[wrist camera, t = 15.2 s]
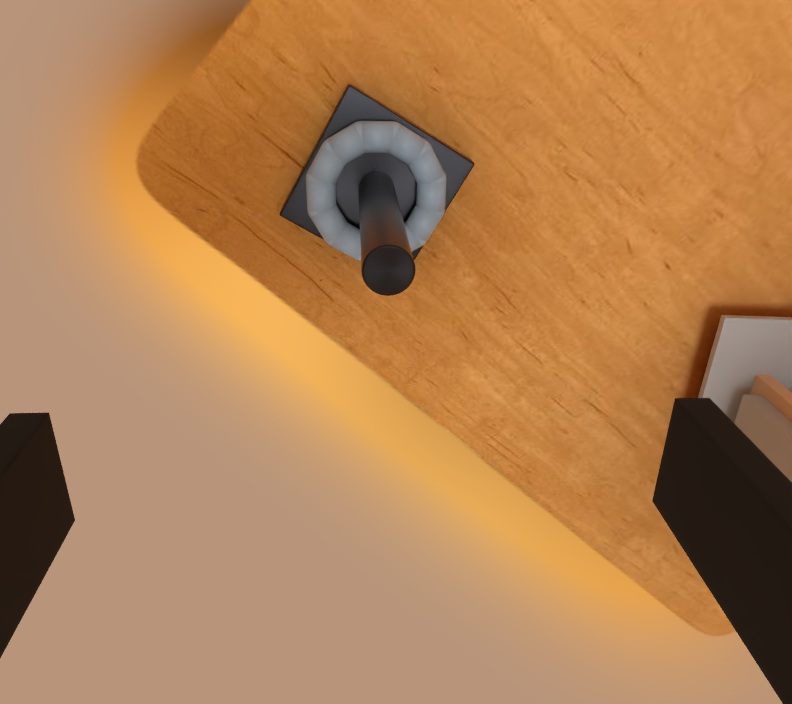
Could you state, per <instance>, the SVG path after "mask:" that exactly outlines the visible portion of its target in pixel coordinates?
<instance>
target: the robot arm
mask: <svg viewBox="0 0 792 704" xmlns="http://www.w3.org/2000/svg"><path fill="white" fill-rule="evenodd" d="M653 503H654V504H655V506H656V507H657V509H658V511H659V512H660V514H661V515H662V517H663V518H664V520H665V521H666V523H667V524H668V526H669V528H670V529H671V531H672V532H673V534H674V535H675V537H676V538H677V540H678V542H679V543H680V545H681V546H682V548H683V549H684V551H685V552H686V554H687V556H688V557H689V559H690V560H691V562H692V563H693V565H694V566H695V568H696V569H697V571H698V573H699V574H700V576H701V577H702V579H703V580H704V582H705V583H706V585H707V587H708V588H709V590H710V591H711V593H712V594H713V596H714V597H715V599H716V601H717V602H718V604H719V605H720V607H721V608H722V610H723V611H724V613H725V615H726V616H727V618H728V619H729V621H730V622H731V624H732V625H733V627H734V628H735V630H736V632H737V633H738V635H739V636H740V638H741V639H742V641H743V642H744V644H745V645H746V647H747V649H748V650H749V652H750V653H751V655H752V656H753V658H754V660H755V661H756V663H757V664H758V665H759V667H760V669H761V670H762V672H763V673H764V675H765V677H766V678H767V680H768V681H769V683H770V684H771V686H772V687H773V689H774V691H775V692H776V694H777V695H778V697H779V698H780V700H781V701H782V703H783V704H792V482H791V481H790V480H789V479H788V478H787V477H786V476H785V475H784V474H783V473H782V472H781V471H780V470H779V469H778V468H777V467H776V466H775V465H774V464H773V463H772V462H771V461H770V460H769V458H768V457H767V456H766V455H765V454H764V453H763V452H762V451H761V450H760V449H759V448H758V447H757V446H756V445H755V444H754V443H753V442H752V441H751V440H750V439H749V438H748V437H747V436H746V435H745V434H744V433H743V432H742V431H741V430H740V429H739V428H738V427H737V426H736V425H735V424H734V423H733V422H732V420H731V419H730V418H729V417H728V416H727V415H726V414H725V413H724V412H723V411H722V410H721V409H720V408H719V407H718V406H717V405H716V404H715V403H714V402H713V401H712V400H711V399H710V398H676V399H675V402H674V406H673V411H672V415H671V420H670V424H669V429H668V433H667V438H666V442H665V447H664V451H663V456H662V460H661V465H660V469H659V474H658V478H657V483H656V487H655V492H654V496H653ZM74 521H75V519H74V515H73V510H72V506H71V502H70V498H69V494H68V490H67V486H66V482H65V477H64V474H63V469H62V465H61V461H60V457H59V453H58V449H57V444H56V440H55V436H54V432H53V428H52V424H51V420H50V415H49V413H14V414H9V415H8V416H7V418H6V419H5V420H4V421H3V422H2V423H1V424H0V658H1V656H2V654H3V652H4V650H5V648H6V647H7V645H8V643H9V641H10V639H11V637H12V635H13V633H14V632H15V630H16V628H17V626H18V624H19V623H20V621H21V619H22V617H23V615H24V613H25V611H26V610H27V608H28V606H29V604H30V602H31V600H32V599H33V597H34V595H35V593H36V591H37V589H38V587H39V586H40V584H41V582H42V580H43V578H44V576H45V574H46V572H47V571H48V569H49V567H50V565H51V563H52V562H53V560H54V558H55V556H56V554H57V552H58V550H59V549H60V547H61V545H62V543H63V541H64V539H65V538H66V536H67V534H68V532H69V530H70V528H71V526H72V525H73V523H74Z"/></svg>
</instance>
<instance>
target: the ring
mask: <svg viewBox="0 0 792 704" xmlns="http://www.w3.org/2000/svg"><path fill="white" fill-rule="evenodd" d="M364 153H389V154H391V155H392V156H394V157H396V158H397V159H399V160H400V161H402V162H404V163H405V164H407V166H408V168H409V169H410V171H411V173H412V175H413V177H414V179H415V181H416V183H417V196H416V206H415V207H414V209H413V211H412V212H411V214H410V216H409V217H408V219H407V220H406V222H405V223H404V226H405V229H406V233H407V237H408V241H409V245H410V248H411V252H412V251H414V250H416V249H417V248H419V247H421V246H423V245H424V244H425V243H426V242H427V241H428V239H429V238H430V236H431V234H432V233H433V231H434V230H435V228H436V226H437V225H438V223H439V222H440V220H441V218H442V217H443V215H444V212H445V199H446V174H445V172H444V170H443V168H442V166H441V164H440V162H439V160H438V158H437V156H436V154H435V152H434V150H433V148H432V146H431V145H430V143H429V142H428V141H427V140H426V139H424V138H422V137H421V136H419V135H418V134H416V133H414V132H413V131H411V130H410V129H408V128H406V127H405V126H403V125H402V124H400V123H398V122H395V121H357V122H355V123H353V124H351V125H349V126H348V127H346V128H344V129H343V130H341V131H339V132H338V133H336V134H334V135H333V136H331V137H329V138H328V139H326V140H325V141H324V142H323V144H322V145H321V147H320V149H319V151H318V153H317V155H316V157H315V158H314V160H313V162H312V164H311V166H310V168H309V170H308V172H307V174H306V192H307V211H308V214H309V216H310V218H311V219H312V221H313V223H314V224H315V226H316V227H317V229H318V231H319V232H320V234H321V235H322V237H323V239H324V240H325V242H326V243H327V244H328V245H330V246H331V247H333V248H335V249H337V250H339V251H340V252H342V253H344V254H346V255H348V256H349V257H351V258H353V259H355V260H357V261H361V241H360V229H358V228H356V227H354V226H353V225H351V224H349V223H347V221H346V220H345V218H344V216H343V215H342V213H341V211H340V210H339V208H338V206H337V205H336V182H337V180H338V178H339V176H340V175H341V173H342V171H343V169H344V167H345V166H346V164H347V163H349V162H351V161H352V160H354V159H356V158H357V157H359V156H361V155H363V154H364Z"/></svg>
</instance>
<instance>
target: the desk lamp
mask: <svg viewBox="0 0 792 704" xmlns="http://www.w3.org/2000/svg"><path fill="white" fill-rule="evenodd" d="M698 398H710V399H711V400H712V401H713V402H714V403H715V404H716V405H717V406H718V407H719V408H720V409H721V410H722V411H723V412H724V413H725V414H726V415H727V416H728V417H729V418H730V419H731V420H732V422H733V423H734V424H735V425H736V426H737V427H738V428H739V429H740V430H741V431H742V432H743V433H744V434H745V435H746V436H747V437H748V438H749V439H750V440H751V441H752V442H753V443H754V444H755V445H756V446H757V447H758V448H759V449H760V450H761V451H762V452H763V453H764V454H765V455H766V456H767V457H768V458H769V460H770V461H771V462H772V463H773V464H774V465H775V466H776V467H777V468H778V469H779V470H780V471H781V472H782V473H783V474H784V475H785V476H786V477H787V478H788V479H789V480H790V481H791V482H792V317H771V316H742V315H721V318H720V322H719V325H718V329H717V332H716V336H715V339H714V343H713V346H712V350H711V353H710V357H709V360H708V364H707V368H706V371H705V375H704V378H703V382H702V385H701V389H700V392H699V396H698Z"/></svg>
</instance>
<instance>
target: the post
mask: <svg viewBox="0 0 792 704" xmlns="http://www.w3.org/2000/svg"><path fill="white" fill-rule="evenodd" d="M357 121H395V122H398V123H400V124H402V125H403V126H405V127H406V128H408V129H410V130H411V131H413V132H414V133H416V134H418V135H419V136H421V137H422V138H424V139H426V140H427V141H428V142H429V143H430V145H431V146H432V148H433V150H434V152H435V154H436V156H437V158H438V160H439V162H440V164H441V166H442V168H443V170H444V172H445V174H446V199H445V211H446V209H447V207H448V206H449V204H450V203H451V201H452V199H453V198H454V196H455V195H456V193H457V192H458V190H459V188H460V187H461V185H462V184H463V182H464V180H465V179H466V177H467V176H468V174H469V173H470V171H471V169H472V168H473V166H474V162H473V161H472V160H471V159H469V158H468V157H466V156H464V155H463V154H461V153H460V152H458V151H456V150H455V149H453V148H452V147H450V146H449V145H447V144H445V143H444V142H442V141H441V140H439V139H437V138H436V137H434V136H433V135H431V134H430V133H428V132H426V131H425V130H423V129H422V128H420V127H418V126H417V125H415V124H414V123H412V122H410V121H409V120H407V119H406V118H404V117H403V116H401V115H399V114H398V113H396V112H395V111H393V110H391V109H390V108H388V107H387V106H385V105H384V104H382V103H380V102H379V101H377V100H376V99H374V98H372V97H371V96H369V95H368V94H366V93H364V92H363V91H361V90H360V89H358V88H357V87H355V86H353V85H352V84H348V86H347V88H346V90H345V91H344V93H343V95H342V97H341V99H340V101H339V103H338V105H337V106H336V108H335V110H334V112H333V114H332V116H331V118H330V120H329V121H328V123H327V125H326V127H325V129H324V131H323V133H322V135H321V136H320V138H319V140H318V142H317V144H316V146H315V148H314V150H313V151H312V153H311V155H310V157H309V159H308V161H307V163H306V164H305V166H304V168H303V170H302V172H301V174H300V176H299V178H298V179H297V181H296V183H295V185H294V187H293V189H292V191H291V193H290V194H289V196H288V198H287V200H286V202H285V204H284V206H283V208H282V209H281V212H280V216H282V217H284V218H286V219H287V220H289V221H291V222H293V223H295V224H297V225H298V226H300V227H302V228H304V229H306V230H307V231H309V232H311V233H313V234H315V235H316V236H318V237H320V238H322V239H323V237H322V235H321V234H320V232H319V231H318V229H317V227H316V226H315V224H314V223H313V221H312V219H311V218H310V216H309V214H308V211H307V192H306V174H307V172H308V170H309V168H310V166H311V164H312V162H313V160H314V158H315V157H316V155H317V153H318V151H319V149H320V147H321V145H322V144H323V142H324V141H325V140H326V139H328V138H329V137H331V136H333V135H334V134H336V133H338V132H339V131H341V130H343V129H344V128H346V127H348V126H349V125H351V124H353V123H355V122H357ZM416 196H417V183H416V181H415V179H414V177H413V175H412V173H411V171H410V169H409V168H408V166H407V164H405V163H404V162H402V161H400V160H399V159H397V158H396V157H394V156H392V155H391V154H389V153H364V154H363V155H361V156H359V157H357V158H356V159H354V160H352V161H351V162H349V163H347V164H346V166H345V167H344V169H343V171H342V173H341V175H340V176H339V178H338V180H337V182H336V205H337V206H338V208H339V210H340V211H341V213H342V215H343V216H344V218H345V220H346V221H347V223H349V224H351V225H353V226H354V227H356V228H358V229H360V241H361V267H362V277H363V280H364V282H365V283H366V285H367V286H368V287H369V288H370V289H371V290H372V291H374V292H375V293H378V294H381V295H387V296H389V295H396V294H399V293H401V292H403V291H404V290H405V289H407V288H408V287H409V286H410V284H411V283H412V281H413V279H414V275H415V263H414V260H415V258H416V256H417V255H418V253H419V252H420V250H421V249H422V247H423V246H421V247H419V248H417V249H416V250H414V251H412V252H411V248H410V245H409V241H408V237H407V233H406V229H405V226H404V223H405V222H406V220H407V219H408V217H409V216H410V214H411V212H412V211H413V209H414V207H415V206H416Z"/></svg>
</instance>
